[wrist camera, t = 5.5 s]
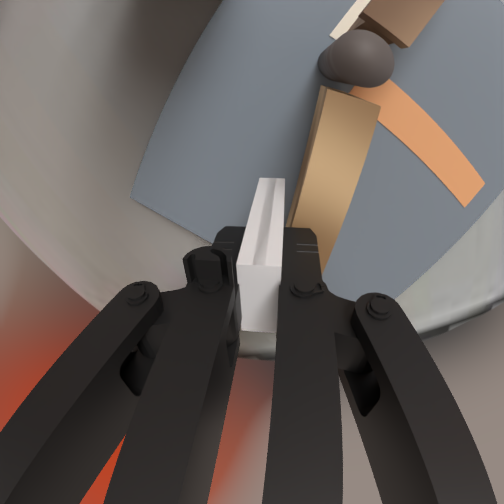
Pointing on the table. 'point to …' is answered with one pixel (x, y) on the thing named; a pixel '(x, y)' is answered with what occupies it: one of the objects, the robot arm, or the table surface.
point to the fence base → (375, 41)
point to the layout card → (299, 124)
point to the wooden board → (332, 165)
